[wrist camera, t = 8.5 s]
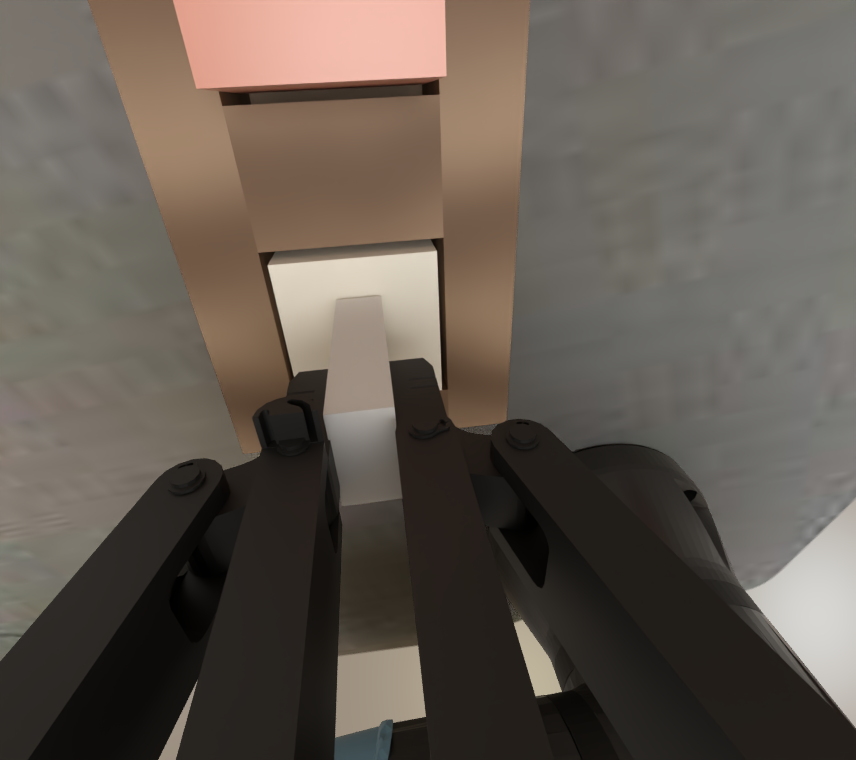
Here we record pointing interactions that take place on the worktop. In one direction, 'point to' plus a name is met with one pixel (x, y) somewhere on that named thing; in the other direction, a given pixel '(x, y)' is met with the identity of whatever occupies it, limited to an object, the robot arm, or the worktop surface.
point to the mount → (335, 191)
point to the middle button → (312, 43)
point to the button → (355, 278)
